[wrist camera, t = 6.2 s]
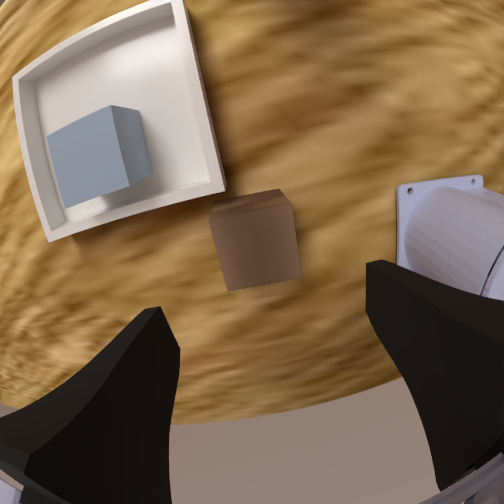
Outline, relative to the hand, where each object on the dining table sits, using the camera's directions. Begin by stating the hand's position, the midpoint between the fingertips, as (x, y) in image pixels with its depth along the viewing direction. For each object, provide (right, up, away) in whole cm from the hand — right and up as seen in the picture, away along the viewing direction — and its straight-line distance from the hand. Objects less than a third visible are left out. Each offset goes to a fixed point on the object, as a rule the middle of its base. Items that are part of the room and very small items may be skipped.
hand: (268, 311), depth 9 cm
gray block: (-9, +8, +5) cm, 13 cm away
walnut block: (-1, +4, +8) cm, 9 cm away
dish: (-9, +10, +5) cm, 15 cm away
